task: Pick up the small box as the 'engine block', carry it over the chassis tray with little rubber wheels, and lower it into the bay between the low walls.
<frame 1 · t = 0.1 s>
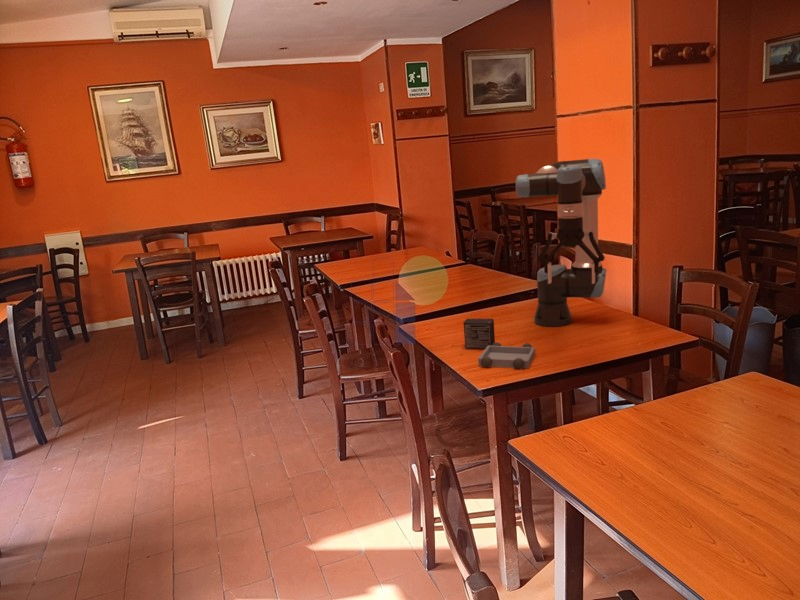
hand: (571, 282, 193), 28 cm above the table, fingers open, 13 cm apart
small box: (480, 347, 226), on the table
chassis bay: (507, 360, 209), on the table
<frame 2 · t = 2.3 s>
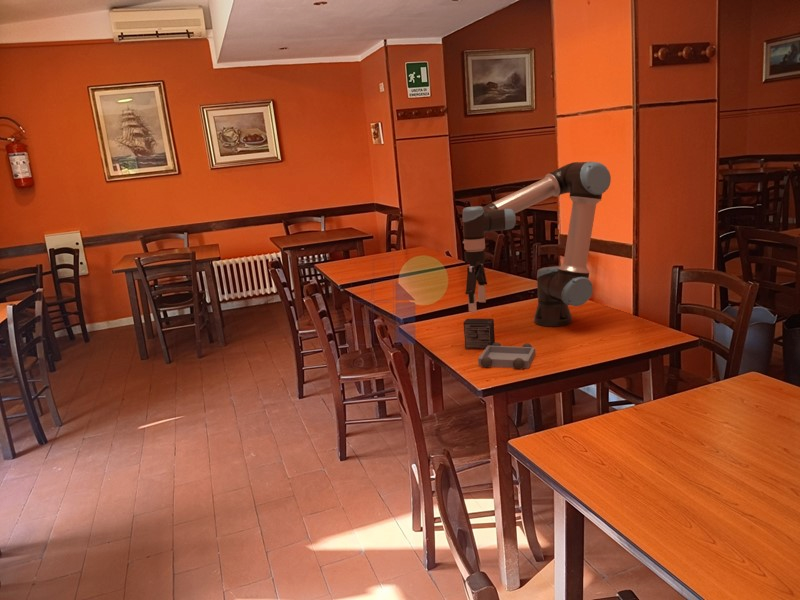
hand: (477, 306, 222), 16 cm above the table, fingers open, 13 cm apart
nothing on the table moved.
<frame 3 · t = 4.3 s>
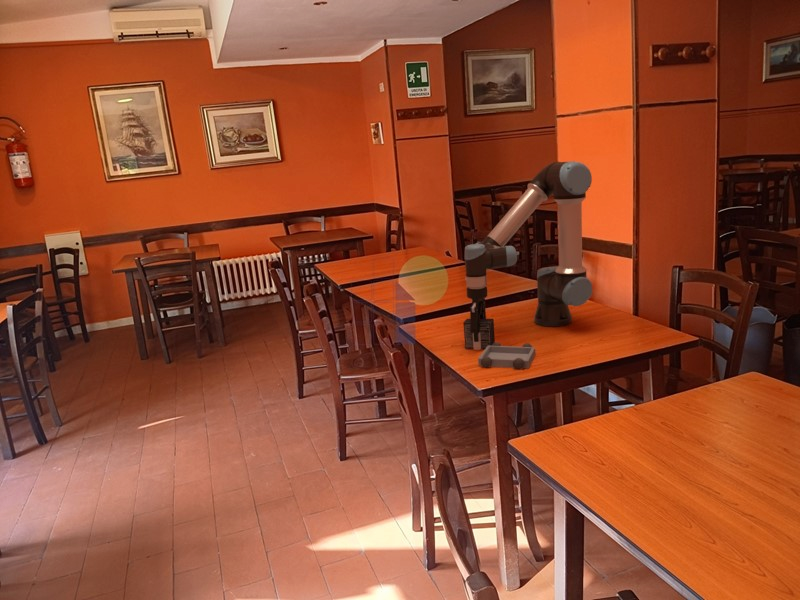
hand: (479, 346, 226), 0 cm above the table, fingers closed on small box, 7 cm apart
small box: (480, 347, 226), on the table, touching gripper
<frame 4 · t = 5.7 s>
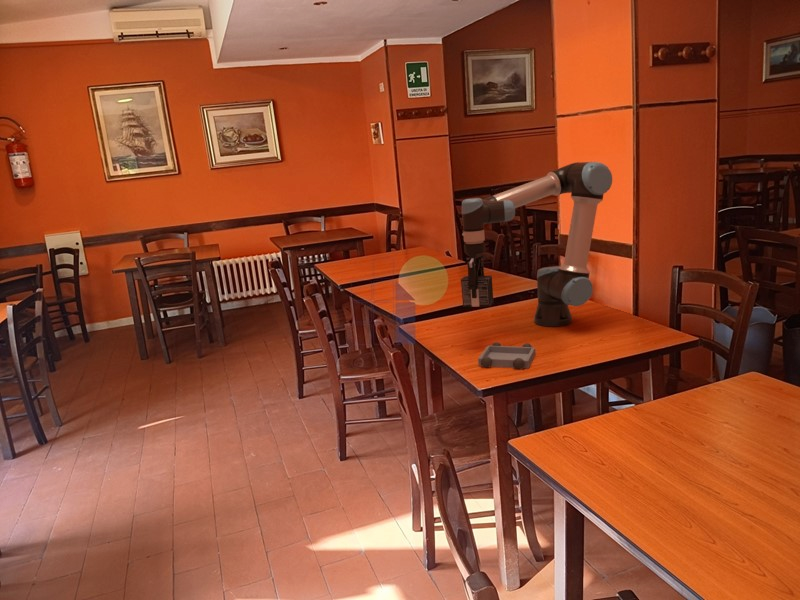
hand: (478, 303, 222), 17 cm above the table, fingers closed on small box, 6 cm apart
small box: (478, 305, 222), point 16 cm above the table, touching gripper
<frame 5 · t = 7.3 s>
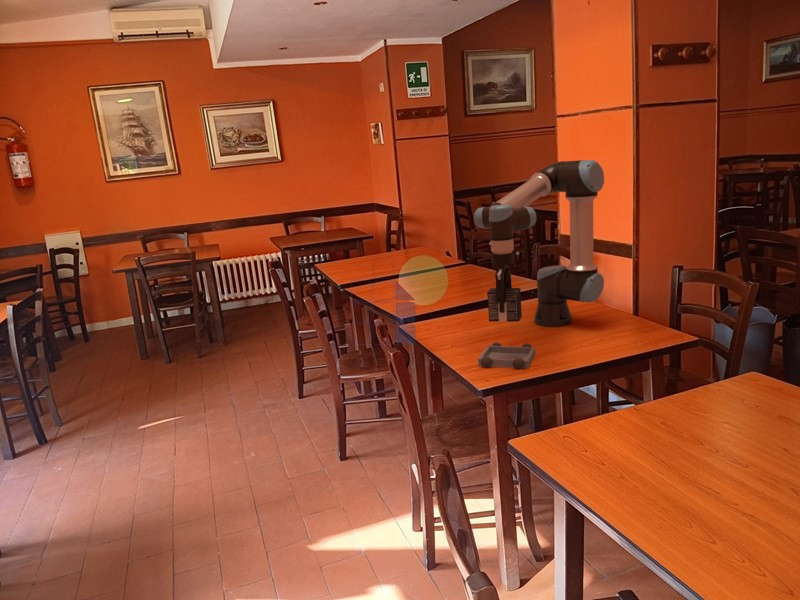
hand: (505, 318, 206), 15 cm above the table, fingers closed on small box, 6 cm apart
small box: (505, 319, 206), point 15 cm above the table, touching gripper
when the fingers open (3 cm above the table, at t = 9.6 s): small box drops 3 cm, resting on chassis bay.
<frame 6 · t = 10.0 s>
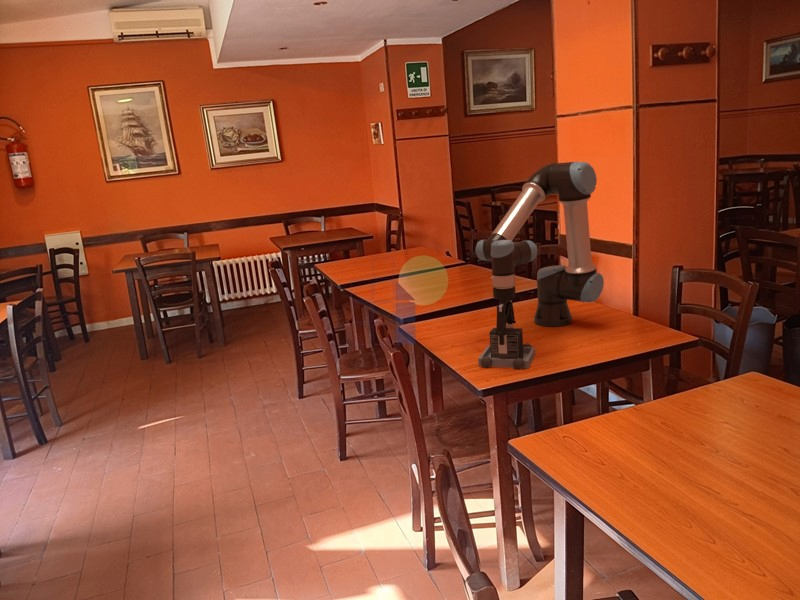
hand: (506, 347, 208), 5 cm above the table, fingers open, 11 cm apart
small box: (507, 359, 209), resting on chassis bay
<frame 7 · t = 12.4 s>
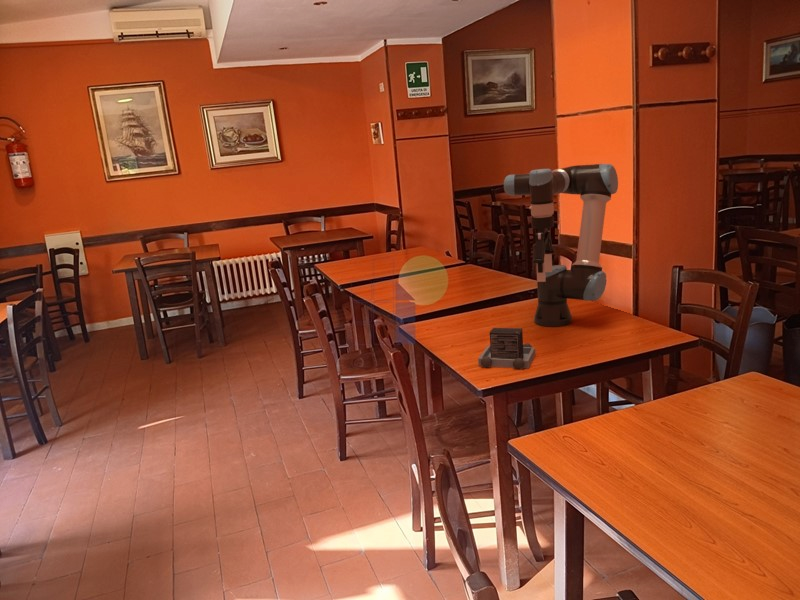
hand: (544, 276, 209), 27 cm above the table, fingers open, 13 cm apart
nothing on the table moved.
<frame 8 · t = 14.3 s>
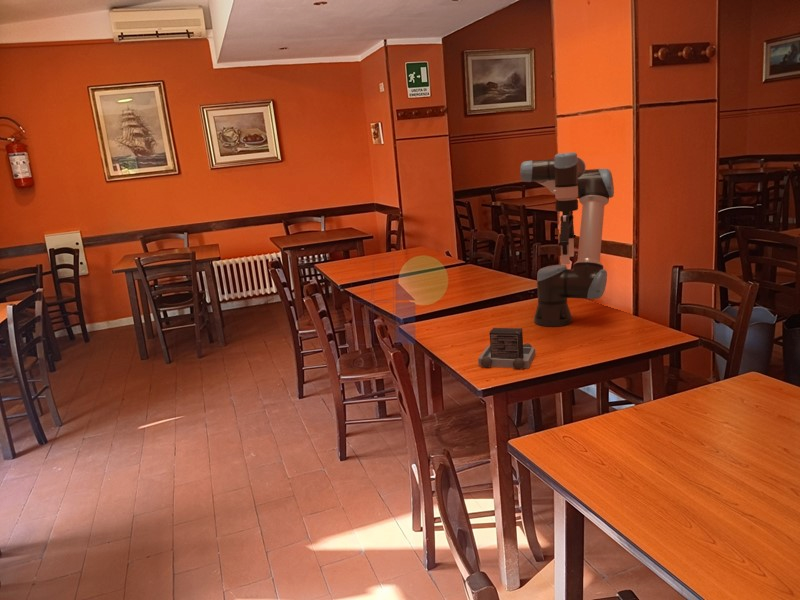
hand: (567, 260, 211), 32 cm above the table, fingers open, 13 cm apart
nothing on the table moved.
at the end: small box inside the target area on the chassis bay (0.2 cm from its centre), point 0.3 cm above the chassis bay's base; small box tilted 0°; the gripper is holding nothing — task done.
